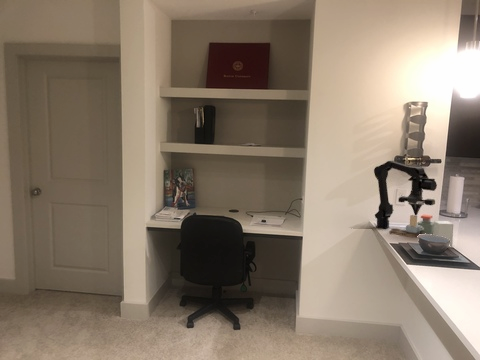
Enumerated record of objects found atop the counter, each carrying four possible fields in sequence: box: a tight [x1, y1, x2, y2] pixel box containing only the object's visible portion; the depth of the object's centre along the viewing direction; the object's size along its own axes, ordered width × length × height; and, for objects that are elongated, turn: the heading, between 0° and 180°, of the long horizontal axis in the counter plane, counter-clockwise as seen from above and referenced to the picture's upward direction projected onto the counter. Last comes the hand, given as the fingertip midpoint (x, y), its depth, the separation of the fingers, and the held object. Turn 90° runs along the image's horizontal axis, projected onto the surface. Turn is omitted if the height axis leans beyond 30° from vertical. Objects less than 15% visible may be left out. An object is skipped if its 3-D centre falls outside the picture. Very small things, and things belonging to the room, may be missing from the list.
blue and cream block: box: [405, 214, 421, 233], centre depth 216 cm, size 6×7×9 cm
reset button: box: [420, 214, 433, 224], centre depth 222 cm, size 5×5×6 cm
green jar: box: [417, 220, 434, 235], centre depth 223 cm, size 8×7×6 cm
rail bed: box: [389, 227, 426, 239], centre depth 219 cm, size 18×7×4 cm, turn 46°
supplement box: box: [433, 220, 454, 247], centre depth 196 cm, size 7×7×13 cm
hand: (415, 215), depth 216 cm, fingers closed
